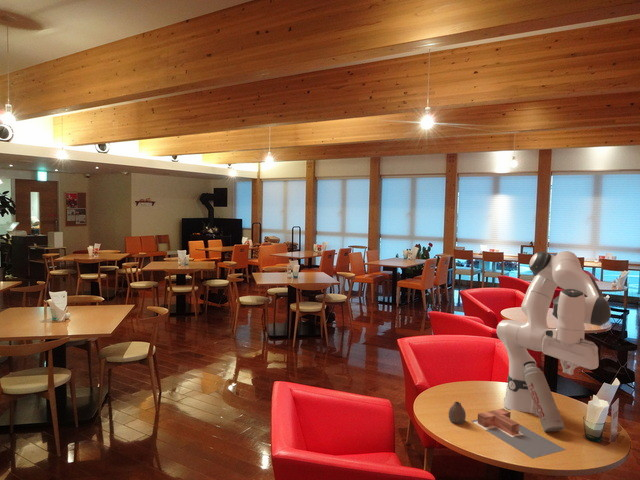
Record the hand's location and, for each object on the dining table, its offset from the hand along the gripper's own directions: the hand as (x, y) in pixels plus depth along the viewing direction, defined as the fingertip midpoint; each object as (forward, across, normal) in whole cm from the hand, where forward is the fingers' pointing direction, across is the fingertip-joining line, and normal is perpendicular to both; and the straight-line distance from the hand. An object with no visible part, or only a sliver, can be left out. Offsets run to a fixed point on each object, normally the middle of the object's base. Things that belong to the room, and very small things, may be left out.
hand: (567, 373), depth 164 cm
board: (+31, +18, +4) cm, 36 cm away
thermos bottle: (+28, +13, -11) cm, 33 cm away
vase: (+31, +36, +18) cm, 51 cm away
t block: (+30, +25, +4) cm, 39 cm away
